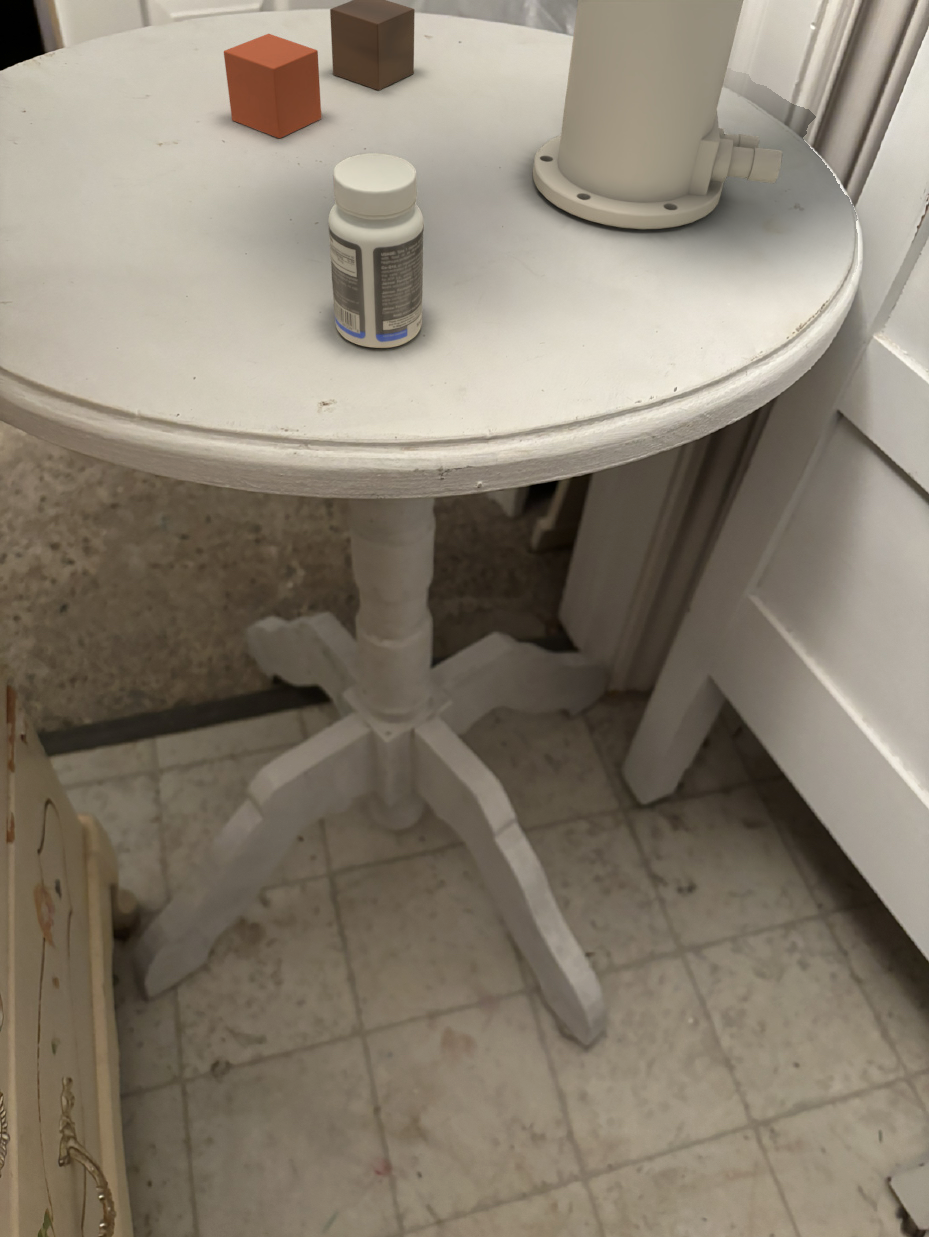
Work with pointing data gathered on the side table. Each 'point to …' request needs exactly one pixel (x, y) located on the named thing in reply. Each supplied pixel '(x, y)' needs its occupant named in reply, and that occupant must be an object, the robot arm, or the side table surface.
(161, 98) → the side table surface
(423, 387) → the side table surface
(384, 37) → the walnut block
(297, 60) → the terracotta block
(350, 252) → the pill bottle
